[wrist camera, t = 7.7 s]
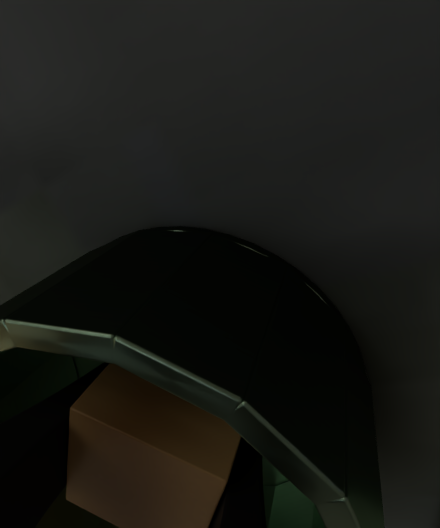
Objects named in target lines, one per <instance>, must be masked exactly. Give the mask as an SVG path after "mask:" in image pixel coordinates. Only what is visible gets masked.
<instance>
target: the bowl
mask: <svg viewBox="0 0 440 528" xmlns="http://www.w3.org/2000/svg"><path fill="white" fill-rule="evenodd" d="M104 362H105V363H111V364H115V365H117V366H119V367H121V368H123V369H125V370H127V371H129V372H131V373H133V374H135V375H137V376H138V377H140V378H142V379H144V380H146V381H148V382H150V383H152V384H154V385H156V386H158V387H160V388H162V389H164V390H166V391H168V392H170V393H172V394H173V395H175V396H177V397H179V398H181V399H183V400H185V401H187V402H189V403H191V404H193V405H195V406H197V407H199V408H201V409H203V410H205V411H206V412H208V413H210V414H212V415H214V416H216V417H218V418H220V419H222V420H224V421H225V422H226V423H227V424H228V425H229V426H231V427H232V428H233V429H234V430H235V431H236V432H237V433H238V434H239V435H240V436H241V437H242V438H244V439H245V440H246V441H247V442H248V443H249V444H250V445H251V446H252V447H253V448H254V449H255V450H256V451H258V452H259V453H260V454H261V455H262V466H263V492H264V505H265V517H266V527H267V528H385V527H384V516H383V505H382V495H381V484H380V473H379V462H378V452H377V441H376V430H375V419H374V409H373V398H372V389H371V384H370V382H369V379H368V377H367V374H366V370H365V365H364V362H363V359H362V356H361V352H360V349H359V346H358V344H357V342H356V340H355V338H354V336H353V334H352V332H351V330H350V328H349V326H348V325H347V323H346V322H345V320H344V319H343V317H342V316H341V314H340V313H339V311H338V310H337V308H336V307H335V306H334V305H333V304H332V302H331V301H330V300H329V299H328V298H327V297H326V296H325V295H324V293H323V292H322V291H321V290H320V289H319V288H318V287H317V286H316V285H315V284H314V283H312V282H311V281H310V280H309V279H308V278H307V277H306V276H304V275H303V274H302V273H301V272H300V271H299V270H297V269H296V268H294V267H293V266H291V265H290V264H288V263H287V262H285V261H284V260H282V259H281V258H280V257H278V256H276V255H275V254H273V253H271V252H269V251H267V250H265V249H263V248H261V247H259V246H257V245H255V244H253V243H250V242H248V241H245V240H242V239H240V238H237V237H234V236H232V235H228V234H224V233H220V232H216V231H212V230H208V229H201V228H192V227H182V226H179V227H157V228H151V229H146V230H139V231H136V232H133V233H131V234H128V235H125V236H122V237H119V238H118V239H116V240H114V241H112V242H110V243H108V244H106V245H104V246H101V247H99V248H97V249H95V250H92V251H90V252H88V253H86V254H85V255H83V256H81V257H80V258H78V259H76V260H75V261H73V262H71V263H70V264H68V265H66V266H65V267H63V268H61V269H60V270H58V271H57V272H55V273H53V274H52V275H50V276H48V277H47V278H45V279H43V280H42V281H40V282H38V283H37V284H35V285H33V286H32V287H30V288H28V289H27V290H25V291H23V292H22V293H20V294H18V295H17V296H15V297H13V298H12V299H10V300H8V301H7V302H5V303H3V304H2V305H0V423H2V422H4V421H6V420H8V419H10V418H12V417H13V416H15V415H17V414H19V413H21V412H23V411H25V410H26V409H28V408H30V407H32V406H34V405H36V404H37V403H39V402H41V401H43V400H44V399H46V398H48V397H49V396H51V395H53V394H55V393H56V392H58V391H60V390H61V389H63V388H65V387H66V386H68V385H69V384H71V383H73V382H74V381H76V380H77V379H79V378H81V377H82V376H84V375H85V374H87V373H88V372H90V371H91V370H93V369H94V368H96V367H98V366H99V365H101V364H102V363H104ZM35 528H119V527H117V526H116V525H114V524H112V523H110V522H108V521H106V520H104V519H102V518H100V517H98V516H96V515H95V514H93V513H91V512H89V511H87V510H85V509H83V508H81V507H79V506H77V505H75V504H73V503H72V502H70V501H68V500H66V486H65V487H64V489H63V490H62V491H61V493H60V494H59V495H58V496H57V498H56V499H55V500H54V502H53V503H52V504H51V506H50V507H49V508H48V510H47V511H46V513H45V514H44V515H43V517H42V518H41V520H40V521H39V522H38V524H37V525H36V527H35Z"/></svg>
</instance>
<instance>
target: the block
mask: <svg viewBox="0 0 440 528" xmlns="http://www.w3.org/2000/svg"><path fill="white" fill-rule="evenodd" d="M240 440H241V436H240V435H239V434H238V433H237V432H236V431H235V430H234V429H233V428H232V427H231V426H229V425H228V424H227V423H226V422H225V421H224V420H222V419H220V418H218V417H216V416H214V415H212V414H210V413H208V412H206V411H205V410H203V409H201V408H199V407H197V406H195V405H193V404H191V403H189V402H187V401H185V400H183V399H181V398H179V397H177V396H175V395H173V394H172V393H170V392H168V391H166V390H164V389H162V388H160V387H158V386H156V385H154V384H152V383H150V382H148V381H146V380H144V379H142V378H140V377H138V376H137V375H135V374H133V373H131V372H129V371H127V370H125V369H123V368H121V367H119V366H117V365H115V364H111V363H109V364H108V365H107V367H106V368H105V369H104V370H103V371H102V372H101V373H100V375H99V376H98V377H97V378H96V379H95V380H94V381H93V382H92V384H91V385H90V386H89V387H88V388H87V389H86V390H85V391H84V393H83V394H82V395H81V396H80V397H79V398H78V399H77V400H76V402H75V403H74V404H73V405H72V406H71V407H70V416H69V438H68V461H67V483H66V500H68V501H70V502H72V503H73V504H75V505H77V506H79V507H81V508H83V509H85V510H87V511H89V512H91V513H93V514H95V515H96V516H98V517H100V518H102V519H104V520H106V521H108V522H110V523H112V524H114V525H116V526H117V527H119V528H209V525H210V523H211V521H212V518H213V516H214V514H215V511H216V509H217V506H218V504H219V502H220V499H221V497H222V495H223V492H224V490H225V487H226V485H227V483H228V480H229V476H230V473H231V470H232V466H233V463H234V460H235V457H236V453H237V450H238V447H239V444H240Z"/></svg>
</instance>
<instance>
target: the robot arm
mask: <svg viewBox="0 0 440 528" xmlns="http://www.w3.org/2000/svg"><path fill="white" fill-rule="evenodd" d="M108 364H109V363H105V362H104V363H102V364H101V365H99V366H98V367H96V368H94V369H93V370H91V371H90V372H88V373H87V374H85V375H84V376H82V377H81V378H79V379H77V380H76V381H74V382H73V383H71V384H69V385H68V386H66V387H65V388H63V389H61V390H60V391H58V392H56V393H55V394H53V395H51V396H49V397H48V398H46V399H44V400H43V401H41V402H39V403H37V404H36V405H34V406H32V407H30V408H28V409H26V410H25V411H23V412H21V413H19V414H17V415H15V416H13V417H12V418H10V419H8V420H6V421H4V422H2V423H0V528H35V527H36V525H37V524H38V522H39V521H40V520H41V518H42V517H43V515H44V514H45V513H46V511H47V510H48V508H49V507H50V506H51V504H52V503H53V502H54V500H55V499H56V498H57V496H58V495H59V494H60V493H61V491H62V490H63V489H64V487H65V486H66V483H67V461H68V438H69V416H70V407H71V406H72V405H73V404H74V403H75V402H76V400H77V399H78V398H79V397H80V396H81V395H82V394H83V393H84V391H85V390H86V389H87V388H88V387H89V386H90V385H91V384H92V382H93V381H94V380H95V379H96V378H97V377H98V376H99V375H100V373H101V372H102V371H103V370H104V369H105V368H106V367H107V365H108ZM209 528H267V527H266V517H265V505H264V492H263V466H262V455H261V454H260V453H259V452H258V451H256V450H255V449H254V448H253V447H252V446H251V445H250V444H249V443H248V442H247V441H246V440H245V439H244V438H242V437H241V440H240V444H239V447H238V450H237V453H236V457H235V460H234V463H233V466H232V470H231V473H230V476H229V480H228V483H227V485H226V487H225V490H224V492H223V495H222V497H221V499H220V502H219V504H218V506H217V509H216V511H215V514H214V516H213V518H212V521H211V523H210V525H209Z"/></svg>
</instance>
